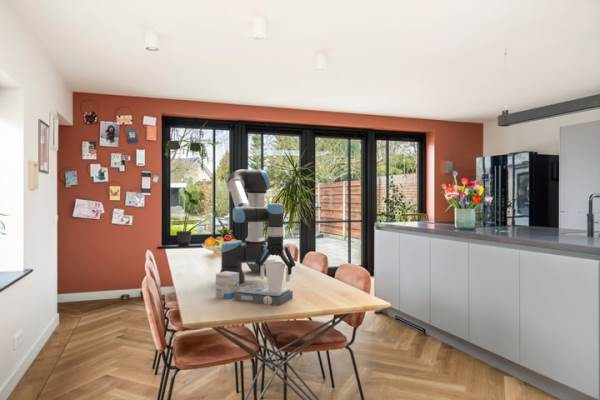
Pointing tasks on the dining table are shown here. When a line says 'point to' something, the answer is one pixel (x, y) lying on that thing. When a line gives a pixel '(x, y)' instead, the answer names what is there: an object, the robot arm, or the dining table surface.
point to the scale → (263, 298)
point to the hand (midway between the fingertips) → (274, 280)
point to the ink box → (227, 284)
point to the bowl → (255, 267)
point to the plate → (261, 290)
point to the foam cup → (274, 275)
